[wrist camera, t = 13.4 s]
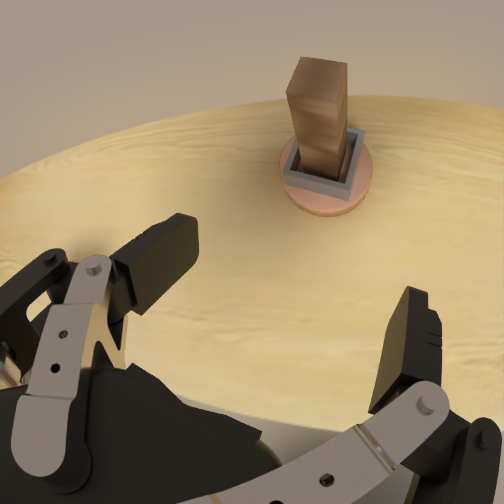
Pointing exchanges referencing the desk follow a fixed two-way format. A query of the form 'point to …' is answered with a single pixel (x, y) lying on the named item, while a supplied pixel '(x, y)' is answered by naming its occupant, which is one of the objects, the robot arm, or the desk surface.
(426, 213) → the desk surface
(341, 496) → the robot arm
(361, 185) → the dish
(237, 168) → the desk surface
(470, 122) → the desk surface
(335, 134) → the brown wooden block
